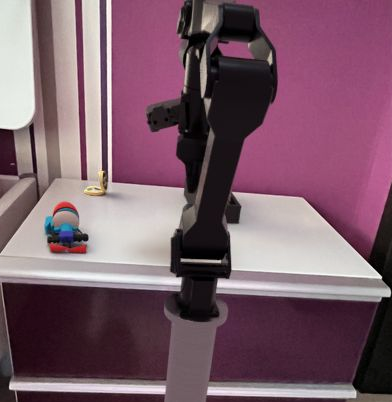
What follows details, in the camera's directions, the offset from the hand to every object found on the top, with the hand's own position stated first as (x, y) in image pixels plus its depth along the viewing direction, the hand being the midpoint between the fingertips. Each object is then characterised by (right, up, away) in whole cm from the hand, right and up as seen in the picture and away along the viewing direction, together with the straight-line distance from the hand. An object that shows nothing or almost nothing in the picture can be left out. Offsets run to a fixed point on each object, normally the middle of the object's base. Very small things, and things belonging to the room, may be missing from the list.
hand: (190, 182), depth 97 cm
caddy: (+4, +3, +28) cm, 28 cm away
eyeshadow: (-22, +6, +29) cm, 37 cm away
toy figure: (-23, -8, +6) cm, 25 cm away
